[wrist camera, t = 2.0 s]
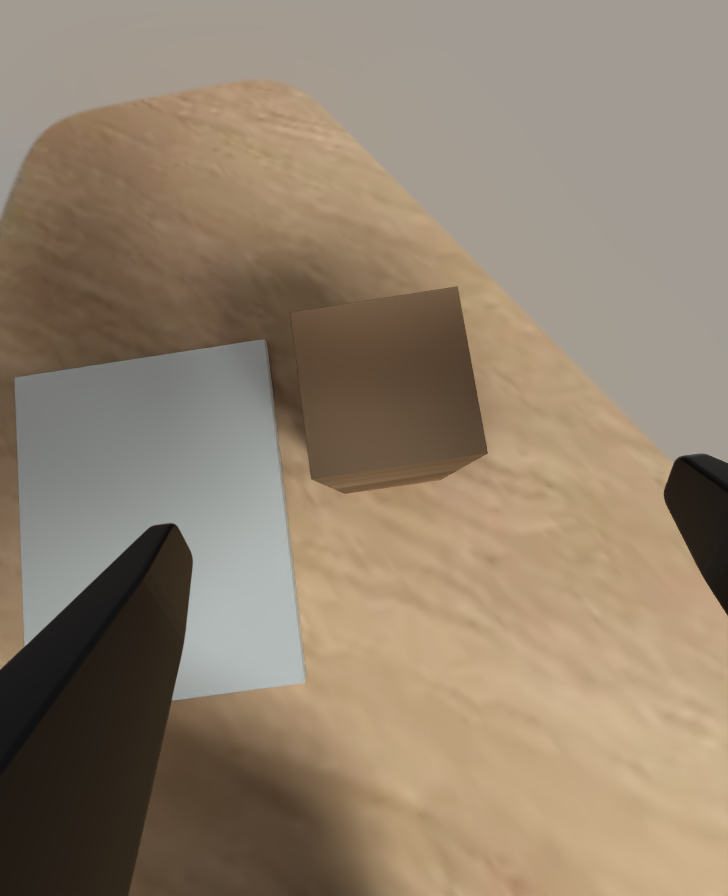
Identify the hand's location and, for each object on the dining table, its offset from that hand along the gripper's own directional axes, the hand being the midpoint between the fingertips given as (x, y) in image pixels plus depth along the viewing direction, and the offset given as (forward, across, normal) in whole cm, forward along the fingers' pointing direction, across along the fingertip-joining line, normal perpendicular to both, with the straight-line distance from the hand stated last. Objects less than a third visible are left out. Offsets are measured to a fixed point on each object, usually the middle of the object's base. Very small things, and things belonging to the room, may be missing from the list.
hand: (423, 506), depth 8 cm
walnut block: (+10, 0, +6) cm, 11 cm away
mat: (+8, +10, +7) cm, 15 cm away
